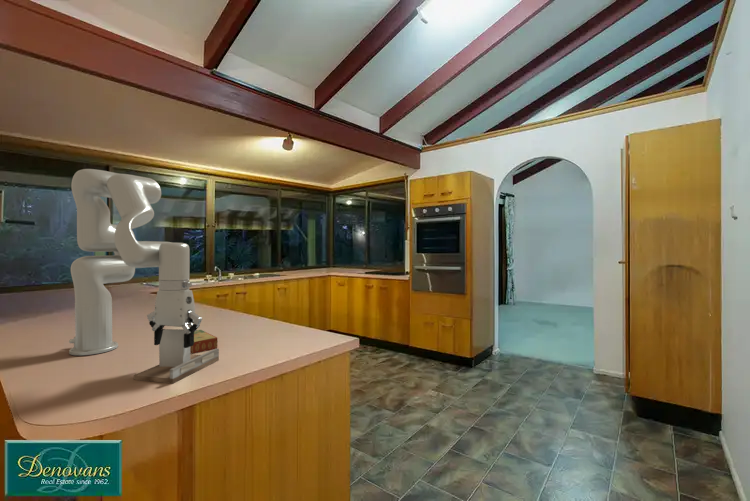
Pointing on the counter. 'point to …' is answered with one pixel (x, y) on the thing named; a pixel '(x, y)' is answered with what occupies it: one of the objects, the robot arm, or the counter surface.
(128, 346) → the counter surface
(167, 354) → the tea bag
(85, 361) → the counter surface
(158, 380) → the shelf board
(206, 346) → the carton
